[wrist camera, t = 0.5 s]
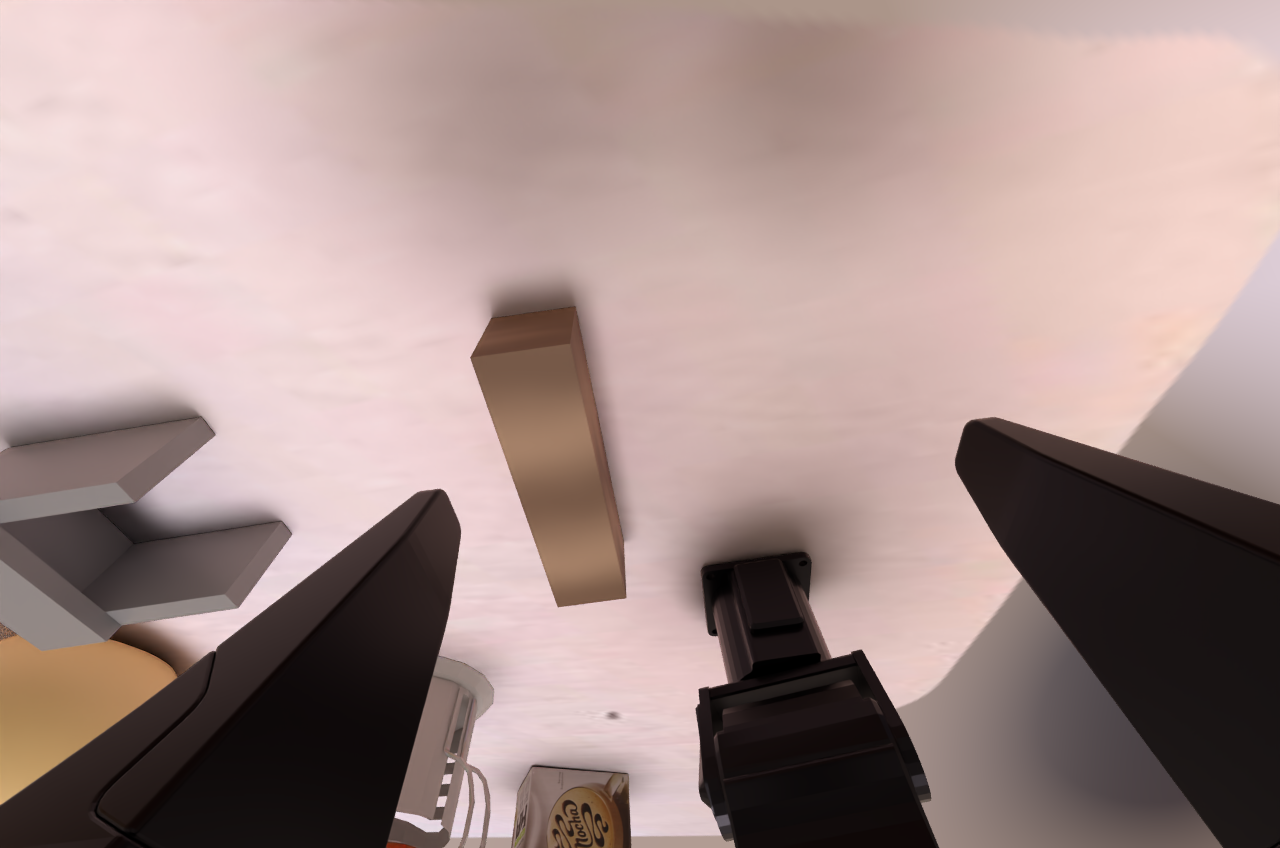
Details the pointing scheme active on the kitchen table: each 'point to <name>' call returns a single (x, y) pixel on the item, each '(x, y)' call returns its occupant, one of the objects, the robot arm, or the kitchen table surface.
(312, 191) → the kitchen table surface
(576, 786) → the coffee box
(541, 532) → the slat
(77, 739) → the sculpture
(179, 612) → the endcap
